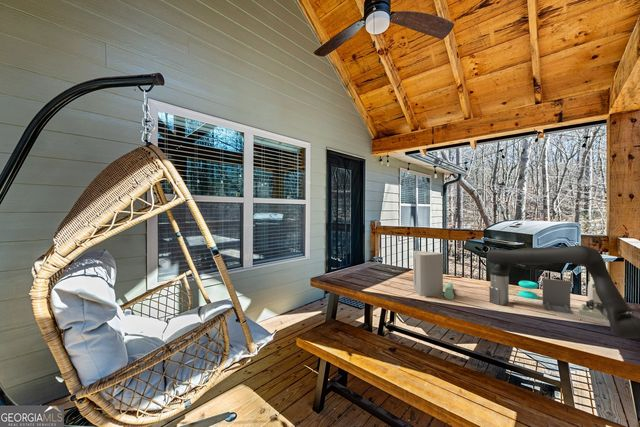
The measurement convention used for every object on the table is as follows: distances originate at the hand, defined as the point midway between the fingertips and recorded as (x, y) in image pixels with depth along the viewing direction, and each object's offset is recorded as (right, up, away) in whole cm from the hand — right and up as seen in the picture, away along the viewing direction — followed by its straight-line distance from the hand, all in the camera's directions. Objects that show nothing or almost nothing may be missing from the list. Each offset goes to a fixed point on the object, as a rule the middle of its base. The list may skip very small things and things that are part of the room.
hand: (603, 303), depth 133 cm
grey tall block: (+6, -9, +8) cm, 13 cm away
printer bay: (-7, -10, +17) cm, 21 cm away
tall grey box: (-69, -11, +50) cm, 86 cm away
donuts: (-7, -10, +39) cm, 40 cm away
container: (-53, -11, +50) cm, 74 cm away
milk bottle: (+20, -9, +22) cm, 31 cm away
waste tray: (+6, -10, +8) cm, 14 cm away
